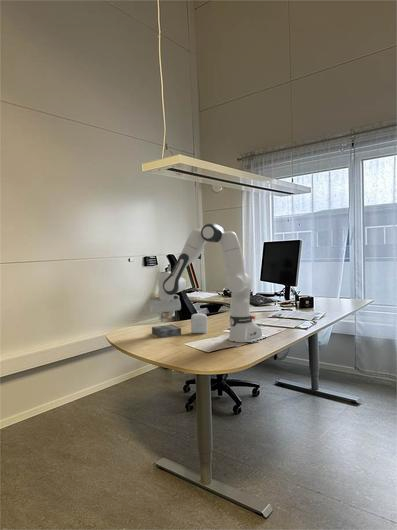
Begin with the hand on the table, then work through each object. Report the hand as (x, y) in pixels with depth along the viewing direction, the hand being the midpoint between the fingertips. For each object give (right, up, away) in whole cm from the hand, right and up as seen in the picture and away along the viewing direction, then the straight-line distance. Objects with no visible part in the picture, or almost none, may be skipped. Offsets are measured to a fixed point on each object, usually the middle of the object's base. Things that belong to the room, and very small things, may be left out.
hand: (165, 318), depth 224 cm
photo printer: (+21, -10, +2) cm, 23 cm away
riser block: (0, -10, 0) cm, 10 cm away
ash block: (0, -2, 0) cm, 2 cm away
